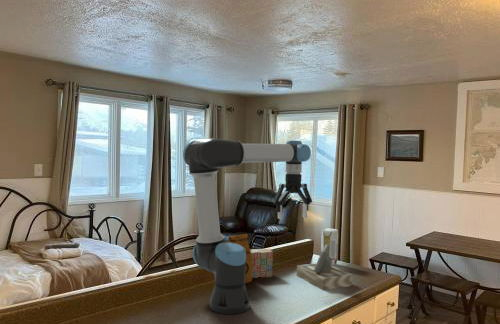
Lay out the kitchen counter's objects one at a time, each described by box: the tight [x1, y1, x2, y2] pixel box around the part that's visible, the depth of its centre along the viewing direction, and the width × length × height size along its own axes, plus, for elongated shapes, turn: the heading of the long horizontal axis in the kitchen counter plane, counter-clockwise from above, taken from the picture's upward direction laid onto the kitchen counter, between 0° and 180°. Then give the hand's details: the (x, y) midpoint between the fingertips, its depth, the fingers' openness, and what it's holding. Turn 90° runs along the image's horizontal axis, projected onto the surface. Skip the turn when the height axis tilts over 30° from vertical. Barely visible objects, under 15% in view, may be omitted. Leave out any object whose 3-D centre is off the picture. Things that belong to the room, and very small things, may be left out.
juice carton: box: [320, 227, 339, 267], centre depth 216 cm, size 8×9×19 cm
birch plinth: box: [296, 262, 353, 291], centre depth 189 cm, size 16×22×5 cm
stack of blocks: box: [250, 248, 274, 279], centre depth 193 cm, size 21×6×12 cm, turn 107°
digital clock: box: [314, 244, 332, 273], centre depth 188 cm, size 16×9×11 cm, turn 152°
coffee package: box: [226, 233, 253, 284], centre depth 182 cm, size 10×12×22 cm
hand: (292, 218), depth 190 cm, fingers open, 13 cm apart
